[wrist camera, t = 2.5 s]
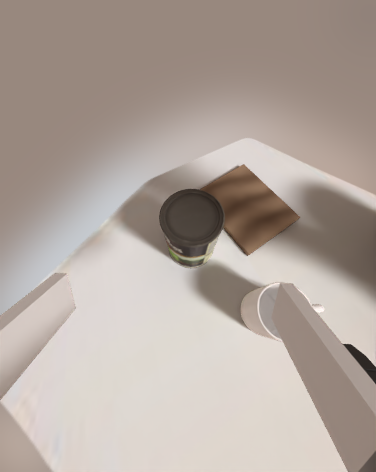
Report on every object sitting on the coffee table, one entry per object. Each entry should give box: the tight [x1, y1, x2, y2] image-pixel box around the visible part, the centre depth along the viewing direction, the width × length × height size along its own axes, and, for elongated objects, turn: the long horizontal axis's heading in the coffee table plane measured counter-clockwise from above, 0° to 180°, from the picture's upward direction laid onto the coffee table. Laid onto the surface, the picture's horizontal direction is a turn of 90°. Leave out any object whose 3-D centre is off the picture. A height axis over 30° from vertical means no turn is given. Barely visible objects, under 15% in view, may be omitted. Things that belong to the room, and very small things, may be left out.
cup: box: [241, 282, 324, 342], centre depth 31 cm, size 8×12×10 cm
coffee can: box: [159, 189, 225, 268], centre depth 35 cm, size 10×10×14 cm
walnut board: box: [200, 164, 300, 256], centre depth 45 cm, size 20×16×1 cm
